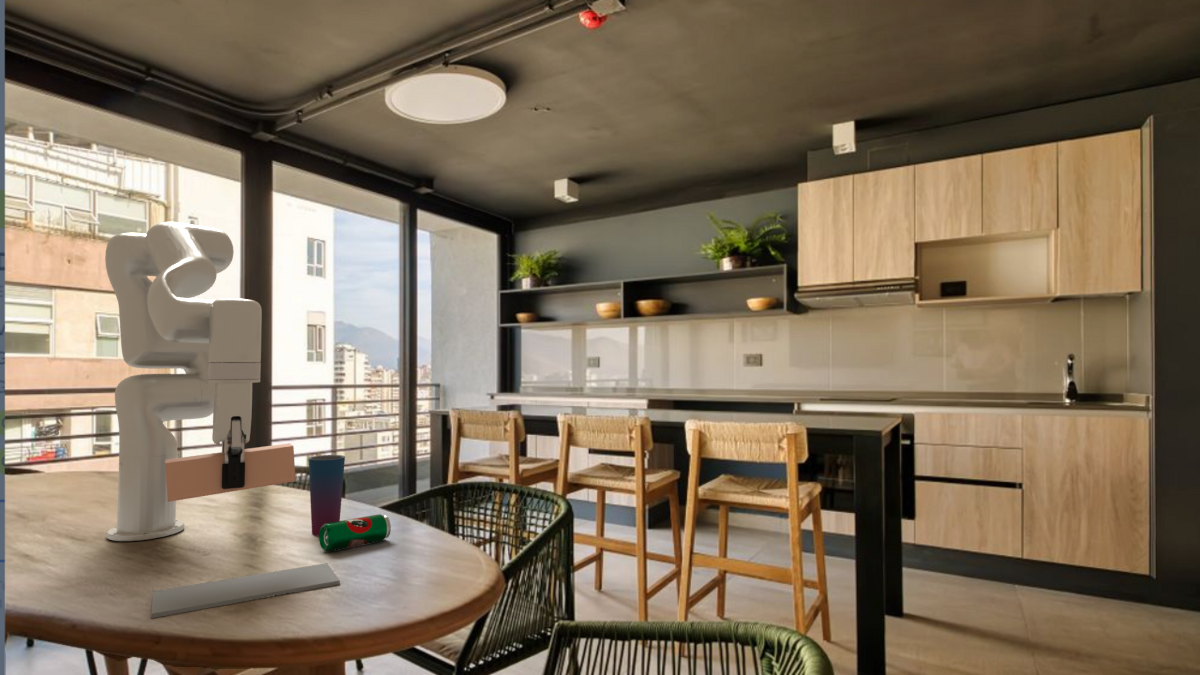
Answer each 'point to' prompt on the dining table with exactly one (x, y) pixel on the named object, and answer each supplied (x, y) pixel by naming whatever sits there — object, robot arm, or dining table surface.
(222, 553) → the dining table surface
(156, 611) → the mat
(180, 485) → the peach wooden plank
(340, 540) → the soda can
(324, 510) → the cup
